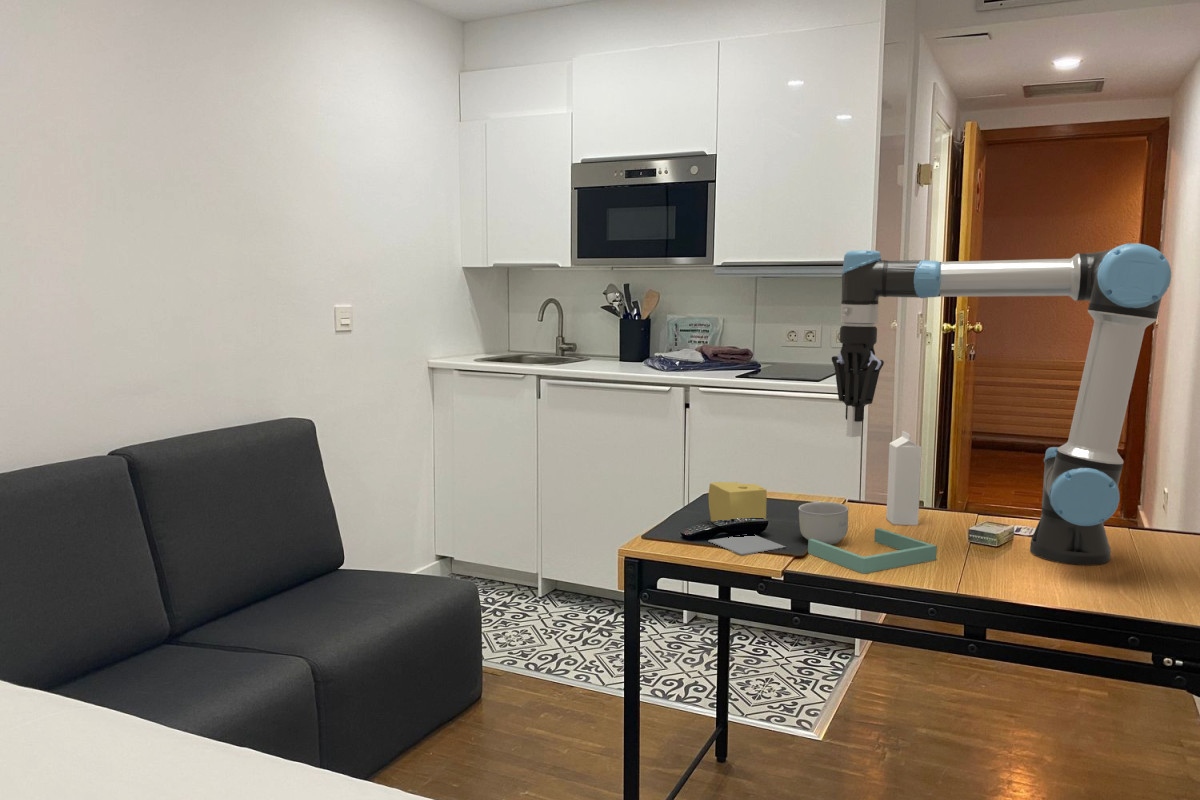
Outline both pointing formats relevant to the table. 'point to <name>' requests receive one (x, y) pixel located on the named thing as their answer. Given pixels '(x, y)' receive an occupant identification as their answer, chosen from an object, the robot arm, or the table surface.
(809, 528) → the teacup
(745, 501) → the cheese
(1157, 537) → the table surface
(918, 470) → the milk
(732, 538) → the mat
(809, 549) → the cup bay
